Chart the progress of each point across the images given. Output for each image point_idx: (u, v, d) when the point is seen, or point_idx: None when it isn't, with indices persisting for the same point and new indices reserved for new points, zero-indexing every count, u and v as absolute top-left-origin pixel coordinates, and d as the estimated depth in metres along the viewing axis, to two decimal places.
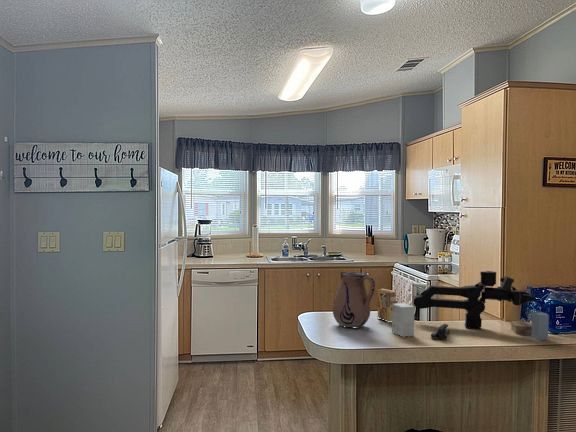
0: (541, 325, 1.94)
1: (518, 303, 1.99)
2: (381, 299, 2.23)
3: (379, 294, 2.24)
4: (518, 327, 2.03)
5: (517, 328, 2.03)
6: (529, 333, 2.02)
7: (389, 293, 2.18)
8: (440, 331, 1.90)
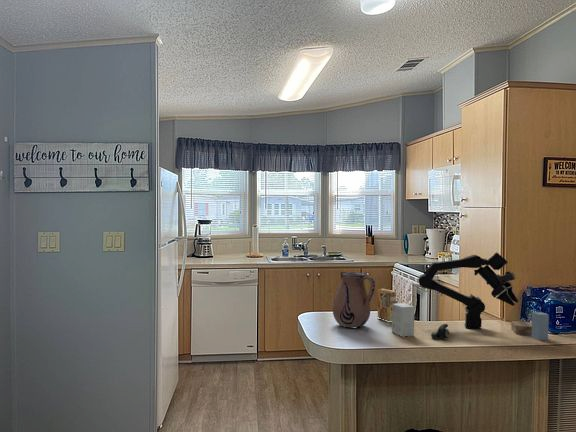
0: (541, 325, 1.94)
1: (495, 295, 2.00)
2: (381, 299, 2.23)
3: (379, 294, 2.24)
4: (518, 327, 2.03)
5: (517, 328, 2.03)
6: (529, 333, 2.02)
7: (389, 293, 2.18)
8: (440, 331, 1.90)
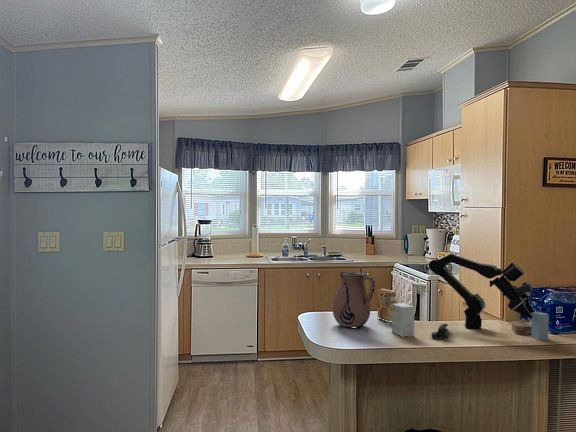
0: (541, 325, 1.94)
1: (512, 308, 1.94)
2: (381, 299, 2.23)
3: (379, 294, 2.24)
4: (518, 327, 2.03)
5: (516, 328, 2.03)
6: (529, 333, 2.02)
7: (389, 293, 2.18)
8: (441, 331, 1.90)
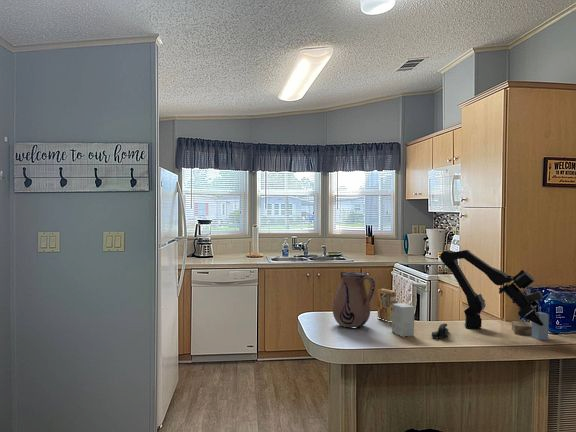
0: None
1: (522, 315, 1.92)
2: (381, 299, 2.23)
3: (379, 294, 2.24)
4: (517, 327, 2.03)
5: (516, 328, 2.03)
6: (528, 333, 2.02)
7: (389, 293, 2.18)
8: (441, 330, 1.90)
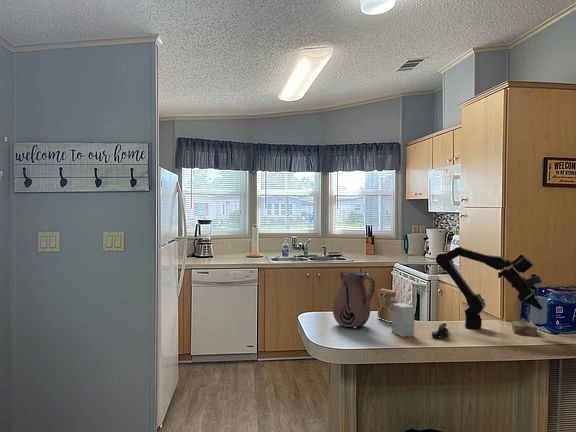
0: None
1: (521, 299, 1.93)
2: (381, 299, 2.23)
3: (379, 294, 2.24)
4: (517, 327, 2.03)
5: (516, 328, 2.03)
6: (528, 333, 2.02)
7: (389, 293, 2.18)
8: (441, 330, 1.91)
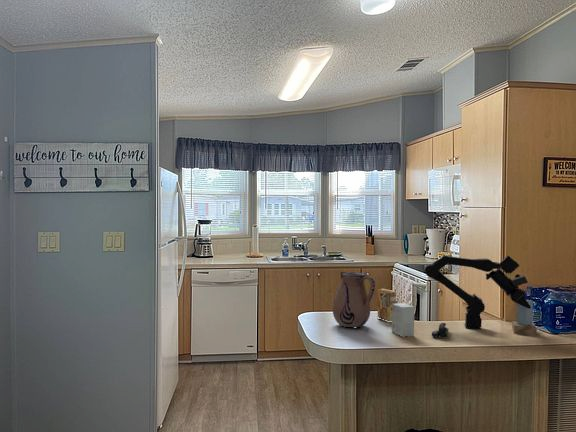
0: (527, 311, 2.04)
1: (515, 299, 1.99)
2: (381, 299, 2.23)
3: (379, 294, 2.24)
4: (516, 327, 2.03)
5: (515, 328, 2.03)
6: (528, 333, 2.02)
7: (389, 293, 2.18)
8: (441, 330, 1.91)
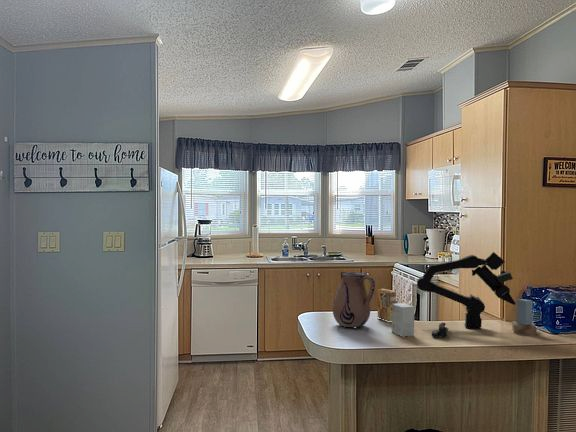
0: (527, 311, 2.04)
1: (499, 295, 2.01)
2: (381, 299, 2.23)
3: (379, 294, 2.24)
4: (516, 327, 2.03)
5: (515, 328, 2.04)
6: (528, 333, 2.02)
7: (389, 293, 2.18)
8: (441, 330, 1.92)
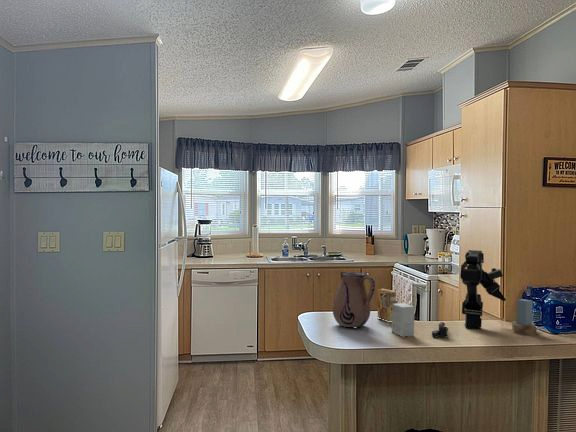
0: (527, 311, 2.04)
1: (490, 292, 2.08)
2: (381, 299, 2.23)
3: (379, 294, 2.24)
4: (516, 327, 2.04)
5: (515, 328, 2.04)
6: (528, 333, 2.02)
7: (389, 293, 2.18)
8: (442, 329, 1.92)
